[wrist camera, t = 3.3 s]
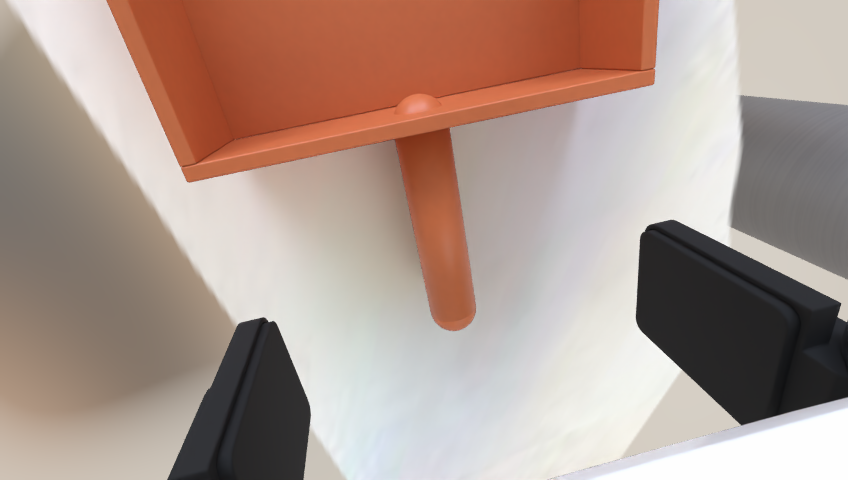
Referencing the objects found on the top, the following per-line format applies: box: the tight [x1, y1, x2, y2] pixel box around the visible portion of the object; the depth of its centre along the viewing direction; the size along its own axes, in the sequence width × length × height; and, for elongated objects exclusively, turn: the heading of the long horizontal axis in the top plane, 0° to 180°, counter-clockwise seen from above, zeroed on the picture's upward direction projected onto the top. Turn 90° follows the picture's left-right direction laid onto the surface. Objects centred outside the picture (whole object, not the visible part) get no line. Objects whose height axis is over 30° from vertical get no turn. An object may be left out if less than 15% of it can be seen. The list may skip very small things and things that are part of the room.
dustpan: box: [107, 0, 659, 331], centre depth 14 cm, size 22×15×4 cm
